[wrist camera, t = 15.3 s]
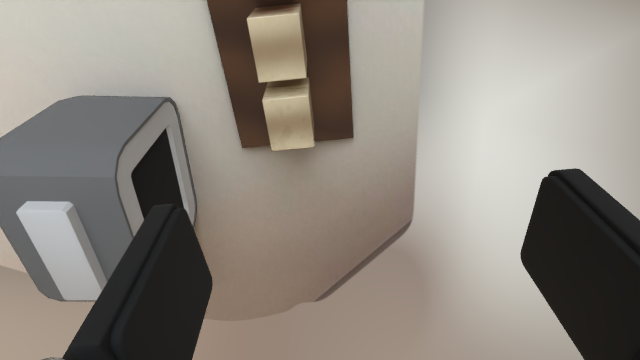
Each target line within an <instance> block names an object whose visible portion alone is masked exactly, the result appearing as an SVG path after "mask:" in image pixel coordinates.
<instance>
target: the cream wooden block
mask: <svg viewBox="0 0 640 360" xmlns="http://www.w3.org/2000/svg"><path fill="white" fill-rule="evenodd" d="M247 23H248V28H249V34H250V39H251V44H252V49H253V55H254V60H255V65H256V70H257V76H258V81H259V83H261V82H271V81H281V80H292V79H302V78H306V76H307V56H306V47H305V38H304V29H303V20H302V11H301V4H300V3H298V4H288V5H279V6H269V7H260V8H255V9H254V10H253V12H252V13H251V14H250V15H249V17H248V18H247Z"/></svg>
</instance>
